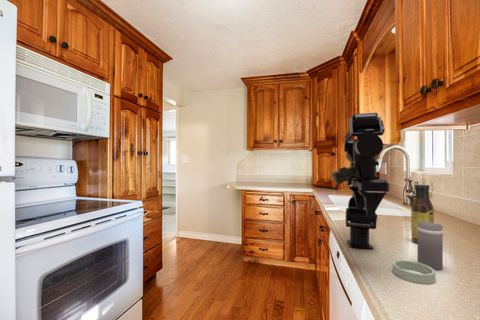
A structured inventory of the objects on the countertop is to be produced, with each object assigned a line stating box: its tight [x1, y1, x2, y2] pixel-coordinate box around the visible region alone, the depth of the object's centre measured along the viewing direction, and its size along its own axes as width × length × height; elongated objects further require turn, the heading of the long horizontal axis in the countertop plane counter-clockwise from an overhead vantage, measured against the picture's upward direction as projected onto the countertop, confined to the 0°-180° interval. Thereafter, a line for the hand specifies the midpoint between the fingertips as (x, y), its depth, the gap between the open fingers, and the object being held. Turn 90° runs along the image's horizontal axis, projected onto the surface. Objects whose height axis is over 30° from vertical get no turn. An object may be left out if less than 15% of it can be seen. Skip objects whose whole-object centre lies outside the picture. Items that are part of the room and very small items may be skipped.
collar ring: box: [392, 259, 436, 285], centre depth 58 cm, size 8×8×2 cm
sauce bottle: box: [410, 184, 435, 244], centre depth 83 cm, size 6×6×20 cm
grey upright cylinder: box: [417, 222, 444, 271], centre depth 64 cm, size 5×5×11 cm
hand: (364, 213), depth 67 cm, fingers open, 9 cm apart
